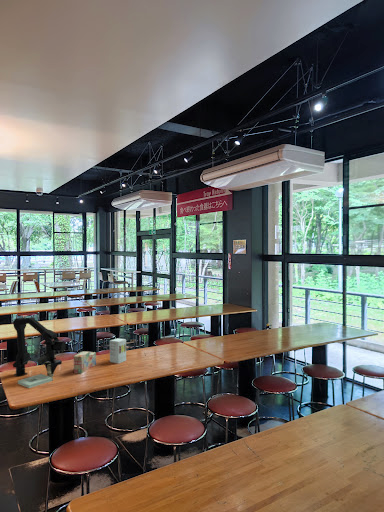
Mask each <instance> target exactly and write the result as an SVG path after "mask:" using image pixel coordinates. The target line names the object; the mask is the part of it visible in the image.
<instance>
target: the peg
mask: <svg viewBox="0 0 384 512" xmlns="http://www.w3.org/2000/svg"><path fill="white" fill-rule="evenodd" d="M49 365H51V364H48V365H47V369H46V374H47V375H46V376H49V377H52V378H53V377H55V376H54V373H55V372H54V373H53V374H51V367H50V366H49Z"/></svg>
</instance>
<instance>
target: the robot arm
mask: <svg viewBox="0 0 384 512" xmlns="http://www.w3.org/2000/svg"><path fill="white" fill-rule="evenodd" d="M27 324H28V325H30V326H31V327H32V328H33V329H34V330H36V332H38V333H39V334H40V336H41V337H42V339H43V340H44V341H43V342H42V345H45V352H44V353H43V355H42V356H39V357H38V358H37V359H36V361H37V363H38V364H39V365H44V366H45V369H46V370H47V365H48V364H51V365H49V366H50V367H51V374H53V373H55V371H56V369H57V367H58V366H60V365H62V364H63V361H62V360H61V359H57V357H56V356H55V355H56V354H57V352H65V350H66V348H67V345H66V342H65V341H64V340H60V339H59V338H58V336H57V334H56V332H55V331H53V330H51V329H48V328H46V327H45V326H44V325H43V324H41V323H40V322H39V321H38V320H37V319H36V318H35V317H33V316H31V317H18V318H15V319H14V320H13V322H12V326H13V329H14V330H15V331H16V338H17V341H16V342H17V351H18V352H17V354H16V357H15V361H14V362H13V363H12V367H13V368H15V373H14V374H13V376H16V377H21V376H26V375H28V373H27V372H26V365H28V363H29V361H30V359H31V356H30V355H31V353H30V352H28V351H27V345H26V333H25V332H26V331H25V329H26V327H27Z"/></svg>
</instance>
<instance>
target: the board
mask: <svg viewBox="0 0 384 512" xmlns="http://www.w3.org/2000/svg"><path fill="white" fill-rule="evenodd" d="M51 382H53V377H49V376H47V375H46V374H42V373H39V374H37V375H36V374H35V375H33V376H28V377H26V378H22V379H19V380H17V384H18V385H20V386H23V387H25V388H28V389H31V388H34V387H38V386H40V385H43V384H46V383H51Z"/></svg>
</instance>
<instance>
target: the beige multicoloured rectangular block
mask: <svg viewBox="0 0 384 512" xmlns="http://www.w3.org/2000/svg"><path fill="white" fill-rule="evenodd" d="M95 365H97V352H95V351H94V352H93V351H80V352H79V353H78V354H75V355H73V373H74V374H84V373H85V372H87V371H88V370H90V369H92V368H93V367H94V366H95Z"/></svg>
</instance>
